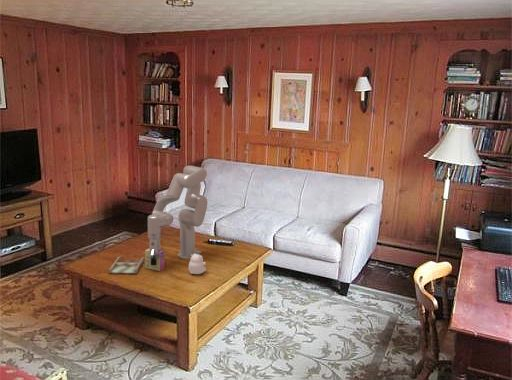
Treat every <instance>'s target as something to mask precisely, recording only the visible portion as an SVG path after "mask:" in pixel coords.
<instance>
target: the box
mask: <svg viewBox="0 0 512 380" xmlns="http://www.w3.org/2000/svg"><path fill="white" fill-rule="evenodd" d="M165 251H166V250H165V249H160V250H159V252H158V255H157V254H156V265H151V254H150V247H149V248H147V249H144V265H145V267H144V268H145V269H148V270H153V271H158V272H161V271H162V270H164V269H165V268H166V267H165V262H166V261H165V258H166V257H165V255H166V254H165ZM154 254H155V253H154ZM154 257H155V255H154Z"/></svg>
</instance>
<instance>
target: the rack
mask: <svg viewBox="0 0 512 380" xmlns="http://www.w3.org/2000/svg"><path fill="white" fill-rule="evenodd" d="M144 263H145V256H142V257H141V258H140V259H121V256H117V258H116V259H115V260H114V262H113V263H112V265H111V266H110V267H109V268H108V275H123V276H125V275H127V276H128V275H132V276H133V275H135V276H136V275H137V274H138V273H139V271H140V269H141V267H142V266H143V264H144Z"/></svg>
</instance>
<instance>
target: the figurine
mask: <svg viewBox="0 0 512 380" xmlns="http://www.w3.org/2000/svg"><path fill="white" fill-rule="evenodd" d="M191 256H192V257H191V258H190V259H189V263H188V270H189V272H190V275H193V274H194V275H201V274H202V273H203V274H204V273H205V271H206V269H207V267H206V264H207V262H206V261H204V258H203V255H201V254H198V253H197V254H193V255H192V254H191Z"/></svg>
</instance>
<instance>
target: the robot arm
mask: <svg viewBox="0 0 512 380" xmlns="http://www.w3.org/2000/svg"><path fill="white" fill-rule="evenodd" d="M207 175H208V172H207V170H206V169H205V168H204V167H200V166H194V165H185V166H184V168H183V171H182V172H181V173H180V172H177V173H175V174H174V175H173V176H172V177H173V178H172V179H171V182H170V184H169V187H168V189H167V191H166V194H165V195H164V196H162V197H161V198H160V199H159V200H158V201H157V202H156V204H155V205H154V208H153V210H152V211H151V214H149V215H148V216H147V238H148V239H149V248H150V254H151V265H156V254H157V255H158V252H159V250H160V249H161V247H162V246H161V237H162V234H161V233H162V231H161V230H162V228H161V227H165V226H166V227H167V226H169V225H172V224H173V222H174V216H173V214H171V213H168V212H165V211H164V210H165V208H166V207H167V206H168V205H169V204H171V203H174V202H177V201H179V200H180V198H181V195H182V193H183V190H184V189H186V193H185V197H184V205H185V206H186V207H188V208H183V209H181V210H180V211H179V213H178V216H177V217H178V222H179V223H178V224H179V248H180V249H179V251H178V253H177V257H179V258H180V259H184V260H185V259H186V260H187V259H188V260H191V257H192V256H191V254H192V255H193V254H199V255H201V254H202V250H200V249H196V247H195V246H196V245H195V241H196V240H195V239H196V237H195V234H196V233H195V232H196V231H195V227H196V228H198V227H200V226H202V224H203V223H204V221H205V217H206V213H207V208H208V199H207V197H206V196H204V195H202V194H201V189H202V185H201V183H202V182H203V181H205V180H206V178H207ZM190 208H191V209H190ZM192 209H194V210H192ZM161 250H162V249H161ZM154 253H155V254H154ZM154 255H155V257H154Z"/></svg>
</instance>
